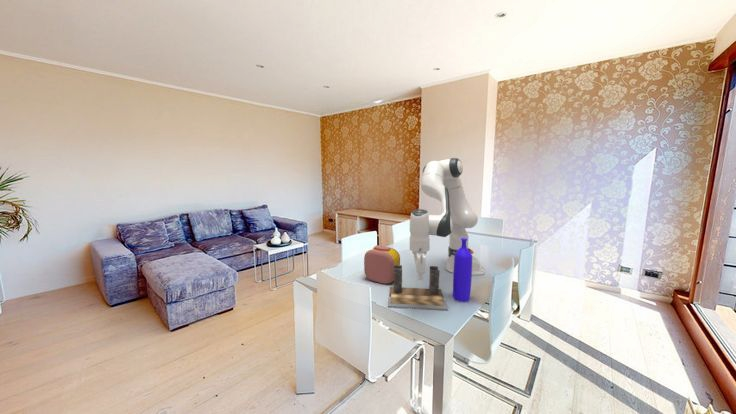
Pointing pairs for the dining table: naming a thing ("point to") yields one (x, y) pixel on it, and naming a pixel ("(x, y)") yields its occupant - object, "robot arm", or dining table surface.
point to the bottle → (462, 273)
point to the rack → (401, 290)
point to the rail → (417, 300)
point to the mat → (417, 306)
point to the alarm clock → (381, 264)
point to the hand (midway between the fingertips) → (419, 274)
